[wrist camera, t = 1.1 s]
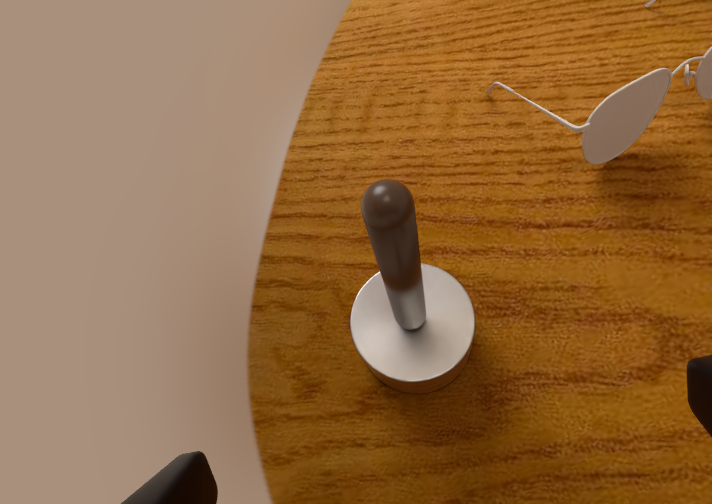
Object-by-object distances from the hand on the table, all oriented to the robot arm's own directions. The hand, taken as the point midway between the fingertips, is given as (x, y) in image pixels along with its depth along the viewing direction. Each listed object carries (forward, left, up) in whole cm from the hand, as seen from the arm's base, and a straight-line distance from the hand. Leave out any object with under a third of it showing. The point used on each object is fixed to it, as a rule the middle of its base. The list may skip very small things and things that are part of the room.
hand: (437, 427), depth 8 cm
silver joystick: (+4, +4, -13) cm, 14 cm away
